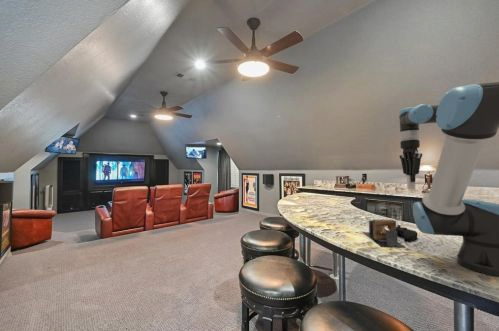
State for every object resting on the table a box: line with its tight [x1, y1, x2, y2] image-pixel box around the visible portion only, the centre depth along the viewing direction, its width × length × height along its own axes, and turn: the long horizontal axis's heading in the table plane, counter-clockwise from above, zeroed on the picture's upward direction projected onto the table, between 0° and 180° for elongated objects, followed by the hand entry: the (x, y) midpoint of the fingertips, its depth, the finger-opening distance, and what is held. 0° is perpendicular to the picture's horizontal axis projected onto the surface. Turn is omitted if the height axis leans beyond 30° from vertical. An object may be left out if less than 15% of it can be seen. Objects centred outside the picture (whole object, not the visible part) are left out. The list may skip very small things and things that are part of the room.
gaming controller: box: [396, 224, 419, 243], centre depth 111 cm, size 14×6×10 cm
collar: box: [372, 219, 397, 240], centre depth 105 cm, size 3×9×9 cm, turn 83°
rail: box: [362, 219, 406, 249], centre depth 108 cm, size 21×10×7 cm, turn 173°
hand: (411, 188), depth 106 cm, fingers closed
